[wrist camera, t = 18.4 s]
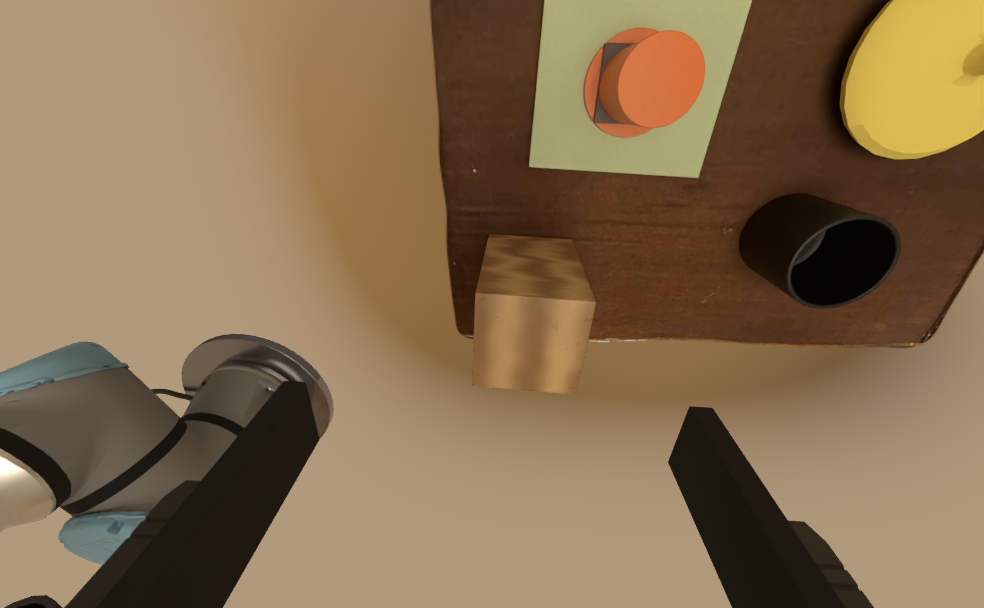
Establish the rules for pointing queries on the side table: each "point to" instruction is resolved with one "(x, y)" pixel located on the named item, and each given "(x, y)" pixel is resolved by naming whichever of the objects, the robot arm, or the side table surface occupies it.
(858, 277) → the mug
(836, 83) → the side table surface
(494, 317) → the block
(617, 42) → the hat
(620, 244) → the side table surface
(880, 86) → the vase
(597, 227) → the side table surface
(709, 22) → the mat
